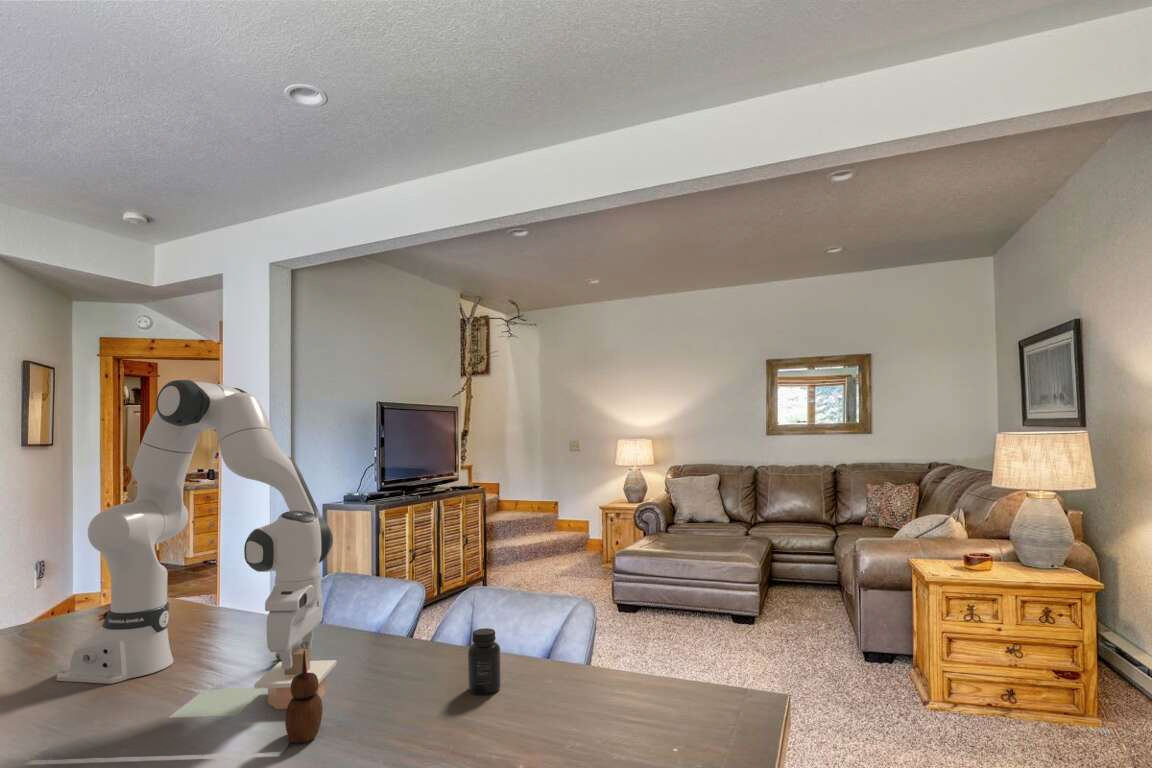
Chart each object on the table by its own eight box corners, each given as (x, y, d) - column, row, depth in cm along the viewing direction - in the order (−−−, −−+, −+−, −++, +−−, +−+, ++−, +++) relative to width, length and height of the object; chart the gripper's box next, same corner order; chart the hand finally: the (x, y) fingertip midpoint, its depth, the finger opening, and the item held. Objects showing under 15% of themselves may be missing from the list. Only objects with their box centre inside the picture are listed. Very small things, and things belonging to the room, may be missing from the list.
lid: (254, 688, 126) (254, 663, 127) (280, 665, 138) (280, 642, 139) (316, 686, 127) (316, 661, 127) (336, 663, 139) (336, 641, 139)
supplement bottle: (506, 685, 138) (506, 628, 139) (489, 698, 132) (489, 638, 133) (479, 680, 141) (479, 624, 142) (461, 692, 135) (461, 634, 136)
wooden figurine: (293, 730, 119) (294, 647, 120) (326, 728, 120) (326, 646, 121) (280, 748, 112) (281, 661, 113) (314, 747, 113) (315, 659, 114)
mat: (168, 720, 124) (168, 717, 124) (204, 692, 137) (204, 689, 137) (237, 718, 124) (237, 715, 124) (266, 690, 137) (266, 687, 137)
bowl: (261, 712, 127) (261, 686, 127) (282, 691, 137) (282, 667, 137) (312, 710, 127) (313, 684, 128) (330, 689, 137) (330, 665, 138)
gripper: (302, 579, 144) (301, 642, 143) (260, 605, 123) (259, 679, 122) (330, 578, 144) (329, 641, 143) (294, 604, 124) (293, 678, 123)
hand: (297, 659), depth 133 cm, fingers open, 8 cm apart
